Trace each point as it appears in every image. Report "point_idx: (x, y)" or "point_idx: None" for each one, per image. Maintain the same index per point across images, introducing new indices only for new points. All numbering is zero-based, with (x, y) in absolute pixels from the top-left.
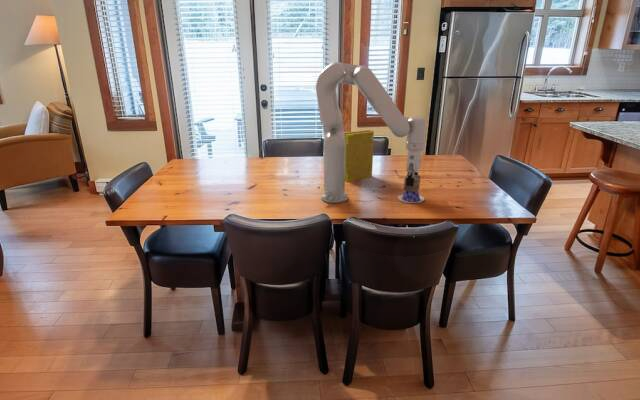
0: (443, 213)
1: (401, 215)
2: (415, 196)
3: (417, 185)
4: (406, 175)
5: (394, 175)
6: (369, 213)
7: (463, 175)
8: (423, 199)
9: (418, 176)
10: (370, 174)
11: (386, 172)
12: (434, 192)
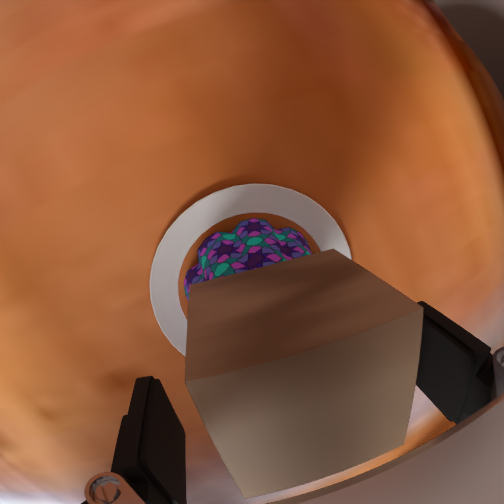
0: (375, 15)
1: (489, 219)
2: (303, 251)
3: (372, 274)
4: (304, 483)
5: (8, 463)
6: (493, 335)
7: None
8: (222, 195)
9: (261, 385)
10: None
11: (16, 486)
12: (16, 198)
